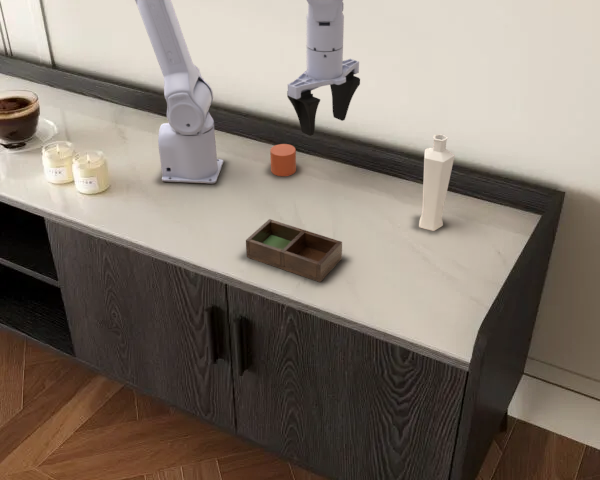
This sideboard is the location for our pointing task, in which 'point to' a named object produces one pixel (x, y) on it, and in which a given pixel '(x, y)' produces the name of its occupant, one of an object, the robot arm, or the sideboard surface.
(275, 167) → the orange cylinder
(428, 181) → the white vase
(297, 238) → the divided tray
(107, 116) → the sideboard surface
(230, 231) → the sideboard surface
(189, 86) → the robot arm
